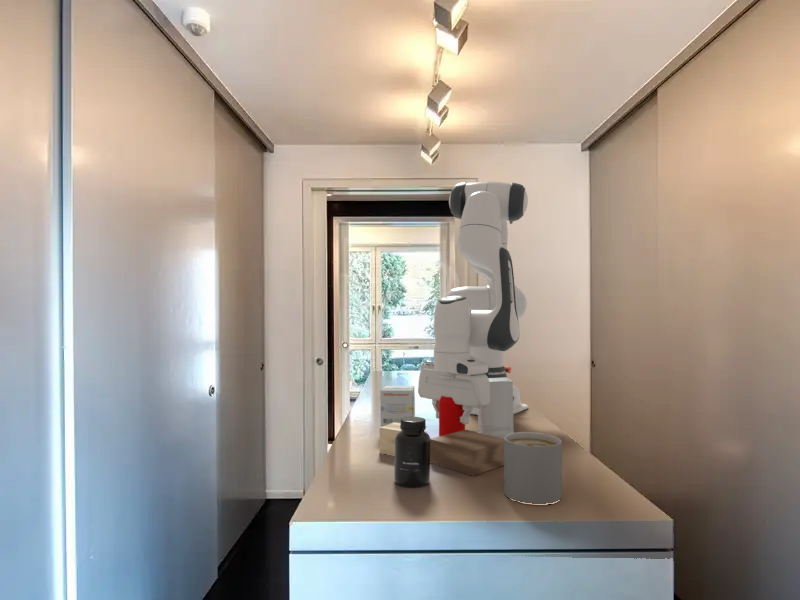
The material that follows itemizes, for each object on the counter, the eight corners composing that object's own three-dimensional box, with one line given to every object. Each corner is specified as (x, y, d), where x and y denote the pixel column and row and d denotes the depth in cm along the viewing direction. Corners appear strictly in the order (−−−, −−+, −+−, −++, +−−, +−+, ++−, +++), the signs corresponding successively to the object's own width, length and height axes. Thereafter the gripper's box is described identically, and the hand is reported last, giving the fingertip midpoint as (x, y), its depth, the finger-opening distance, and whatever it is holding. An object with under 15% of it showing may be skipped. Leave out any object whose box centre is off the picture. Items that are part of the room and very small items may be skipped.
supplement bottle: (404, 490, 95) (404, 424, 95) (388, 479, 101) (388, 417, 101) (437, 484, 98) (437, 420, 98) (419, 473, 104) (419, 413, 104)
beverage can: (466, 448, 122) (466, 396, 122) (439, 448, 122) (439, 396, 122) (463, 441, 128) (463, 392, 128) (438, 441, 129) (438, 392, 129)
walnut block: (465, 451, 120) (465, 429, 120) (509, 463, 111) (509, 439, 111) (429, 462, 112) (429, 438, 112) (473, 476, 103) (473, 450, 103)
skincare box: (508, 434, 135) (508, 376, 135) (514, 440, 129) (514, 380, 129) (476, 434, 135) (476, 376, 135) (480, 440, 129) (480, 380, 129)
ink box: (415, 428, 142) (415, 384, 142) (413, 436, 133) (413, 389, 133) (384, 427, 143) (384, 384, 143) (379, 435, 134) (379, 389, 134)
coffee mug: (571, 505, 88) (571, 445, 88) (513, 507, 88) (513, 447, 88) (542, 478, 102) (542, 426, 102) (492, 479, 101) (492, 428, 101)
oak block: (393, 447, 123) (394, 422, 123) (415, 451, 120) (416, 425, 120) (379, 454, 118) (379, 427, 118) (402, 458, 115) (402, 431, 115)
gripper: (412, 360, 131) (412, 416, 131) (476, 368, 116) (476, 431, 116) (429, 358, 135) (429, 412, 135) (494, 366, 120) (494, 426, 120)
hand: (452, 421), depth 125 cm, fingers closed on beverage can, 6 cm apart
